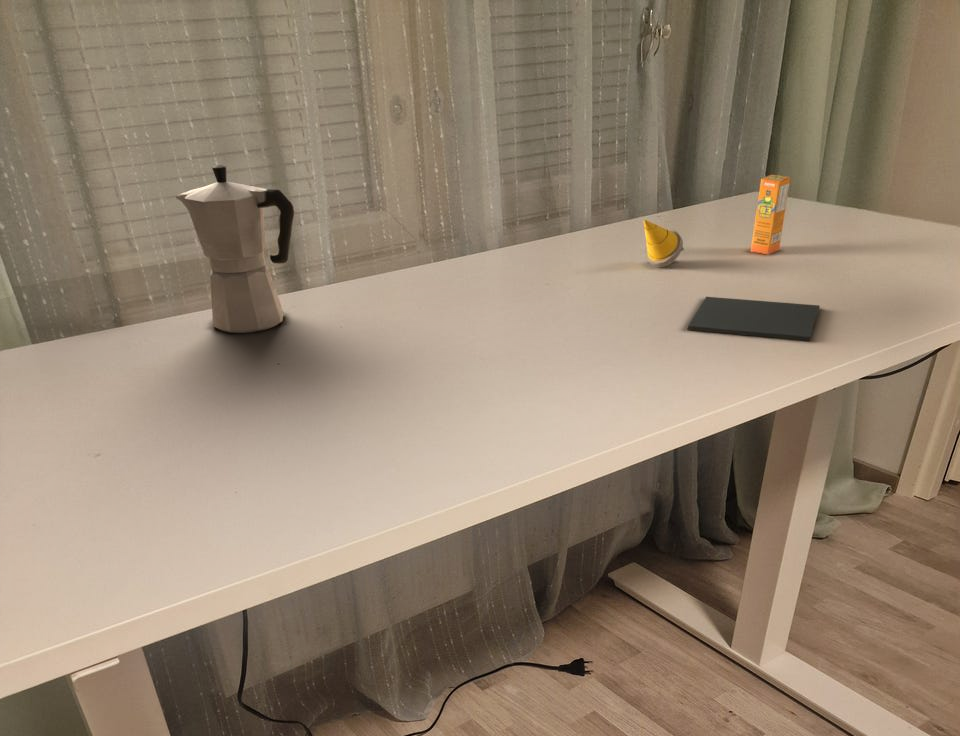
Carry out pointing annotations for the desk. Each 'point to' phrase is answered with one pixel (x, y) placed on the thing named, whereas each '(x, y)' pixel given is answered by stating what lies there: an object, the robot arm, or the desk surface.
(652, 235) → the yellow cone on disc
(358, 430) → the desk surface
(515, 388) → the desk surface
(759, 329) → the mat
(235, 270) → the coffeepot
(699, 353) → the desk surface
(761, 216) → the supplement box
